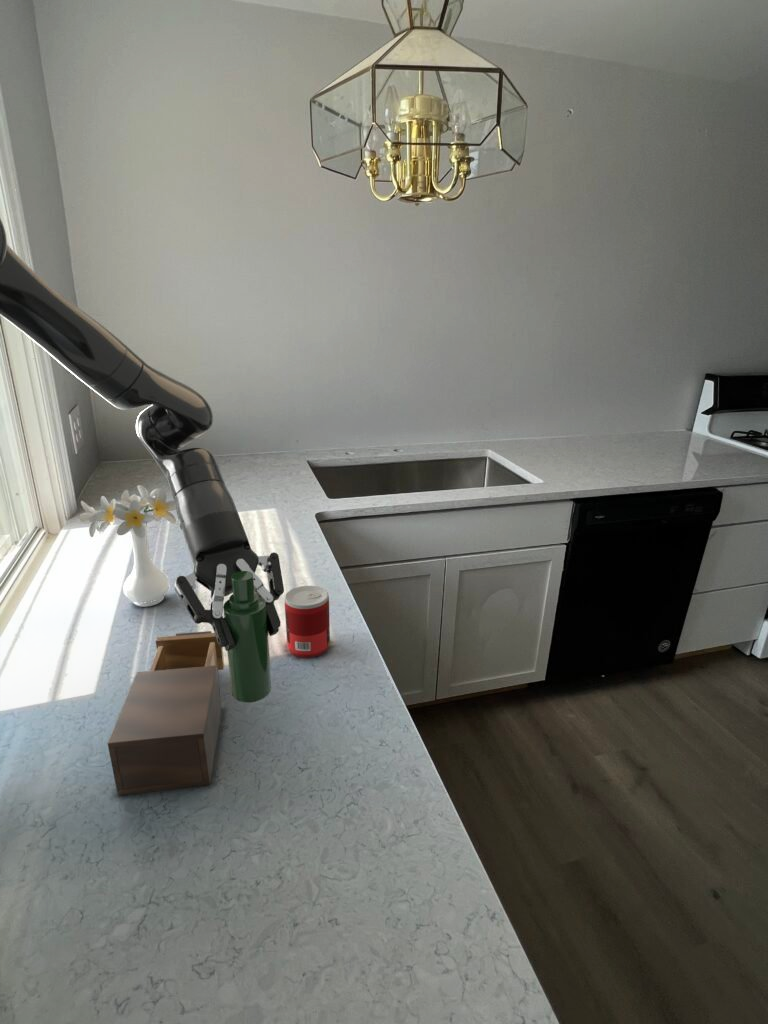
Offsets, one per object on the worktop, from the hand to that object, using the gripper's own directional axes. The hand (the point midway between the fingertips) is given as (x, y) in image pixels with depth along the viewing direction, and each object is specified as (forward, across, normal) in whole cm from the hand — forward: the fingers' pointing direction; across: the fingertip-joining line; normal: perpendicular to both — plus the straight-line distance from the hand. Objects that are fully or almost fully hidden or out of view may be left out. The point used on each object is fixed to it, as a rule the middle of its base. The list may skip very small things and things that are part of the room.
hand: (253, 640), depth 70 cm
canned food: (-1, +19, +31) cm, 36 cm away
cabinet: (+7, -9, +22) cm, 25 cm away
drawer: (-2, -3, +30) cm, 30 cm away
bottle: (+5, 0, +7) cm, 9 cm away
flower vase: (-25, -1, +55) cm, 61 cm away
